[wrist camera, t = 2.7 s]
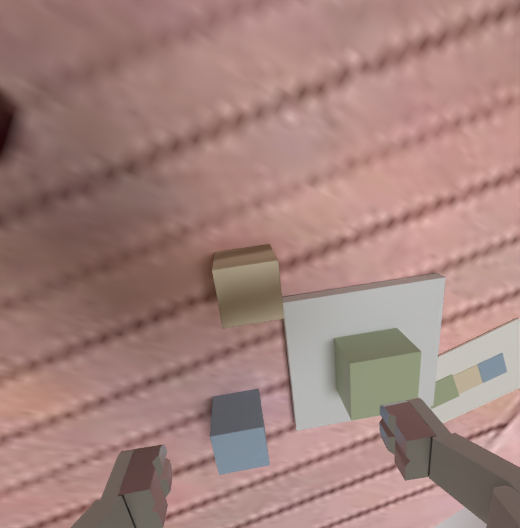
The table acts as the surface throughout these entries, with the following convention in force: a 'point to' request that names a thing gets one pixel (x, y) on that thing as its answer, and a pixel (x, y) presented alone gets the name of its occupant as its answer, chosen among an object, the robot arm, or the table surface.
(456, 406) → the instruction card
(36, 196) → the table surface
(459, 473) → the robot arm
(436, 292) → the build plate
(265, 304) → the beech block
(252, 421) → the slate blue block
